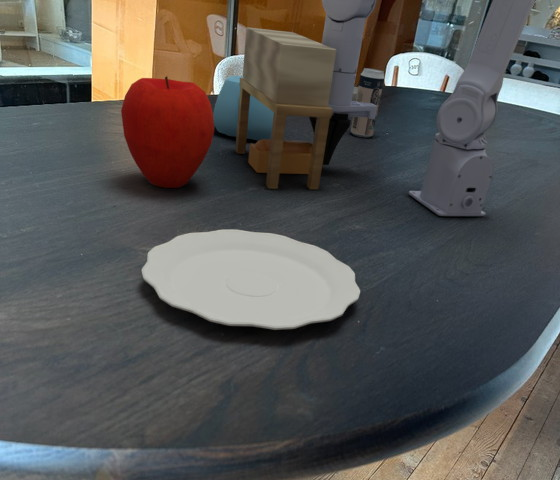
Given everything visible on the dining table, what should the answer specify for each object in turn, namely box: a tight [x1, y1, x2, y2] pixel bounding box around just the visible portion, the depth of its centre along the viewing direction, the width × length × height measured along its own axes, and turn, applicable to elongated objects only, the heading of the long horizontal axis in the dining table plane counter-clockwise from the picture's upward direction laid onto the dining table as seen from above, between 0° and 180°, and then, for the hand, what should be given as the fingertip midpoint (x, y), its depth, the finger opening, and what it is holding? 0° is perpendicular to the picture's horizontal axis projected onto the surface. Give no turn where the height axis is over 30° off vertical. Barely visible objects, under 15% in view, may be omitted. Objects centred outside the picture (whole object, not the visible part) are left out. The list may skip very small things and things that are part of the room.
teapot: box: [213, 75, 274, 142], centre depth 107 cm, size 13×11×18 cm
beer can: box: [350, 67, 386, 138], centre depth 117 cm, size 5×5×12 cm
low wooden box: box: [248, 139, 313, 175], centre depth 92 cm, size 5×10×4 cm, turn 108°
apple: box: [120, 75, 215, 189], centre depth 77 cm, size 12×12×13 cm
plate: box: [141, 229, 361, 331], centre depth 58 cm, size 21×21×2 cm
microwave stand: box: [235, 26, 336, 190], centre depth 88 cm, size 19×8×18 cm, turn 18°
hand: (322, 163), depth 95 cm, fingers closed
